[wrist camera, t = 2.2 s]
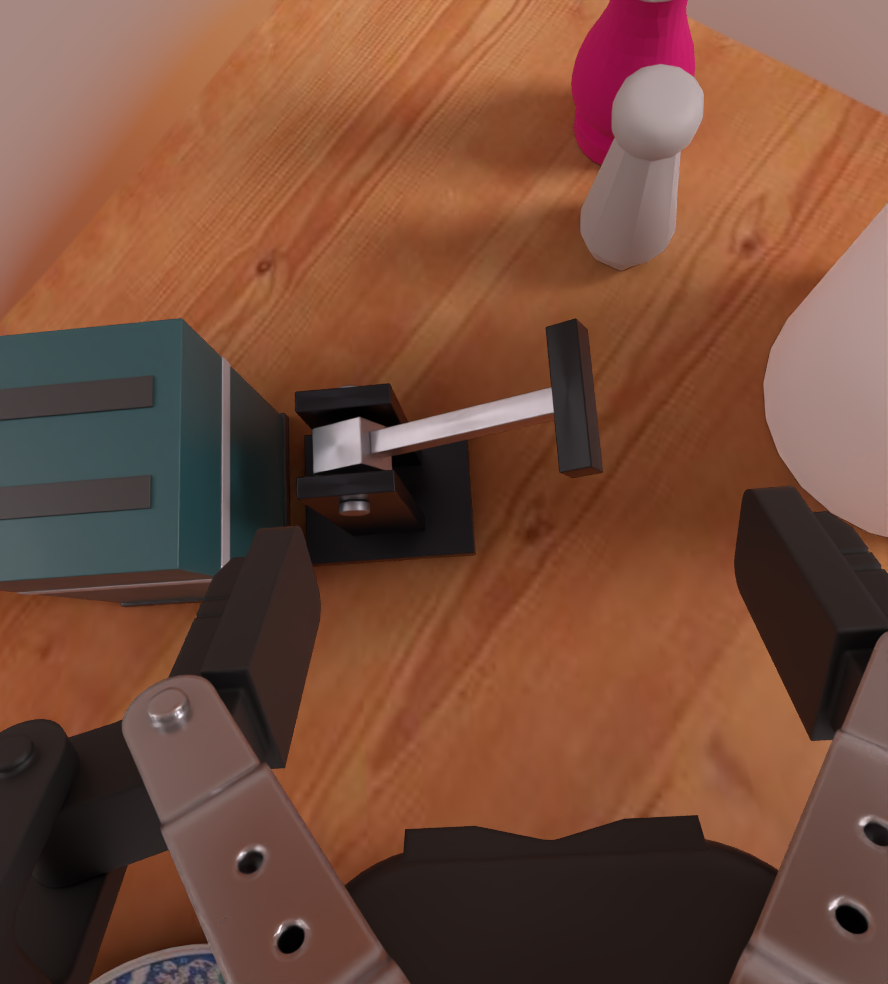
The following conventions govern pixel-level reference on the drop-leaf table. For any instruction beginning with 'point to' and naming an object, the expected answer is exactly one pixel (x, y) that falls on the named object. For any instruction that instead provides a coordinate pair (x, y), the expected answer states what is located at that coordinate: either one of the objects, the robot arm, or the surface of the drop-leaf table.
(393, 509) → the bracket
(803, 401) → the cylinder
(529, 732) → the drop-leaf table surface
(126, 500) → the toaster
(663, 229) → the salt shaker
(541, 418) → the lever
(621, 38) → the pepper mill
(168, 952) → the ceramic plate
